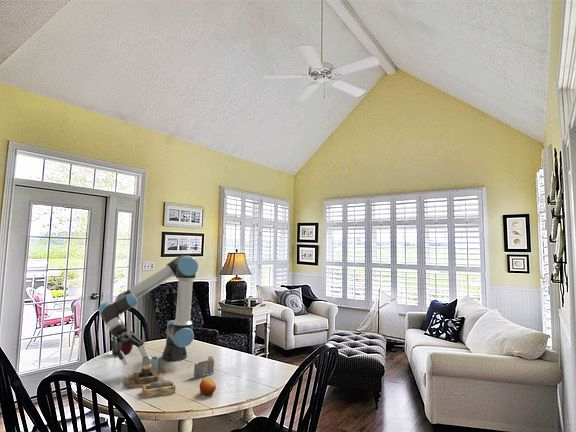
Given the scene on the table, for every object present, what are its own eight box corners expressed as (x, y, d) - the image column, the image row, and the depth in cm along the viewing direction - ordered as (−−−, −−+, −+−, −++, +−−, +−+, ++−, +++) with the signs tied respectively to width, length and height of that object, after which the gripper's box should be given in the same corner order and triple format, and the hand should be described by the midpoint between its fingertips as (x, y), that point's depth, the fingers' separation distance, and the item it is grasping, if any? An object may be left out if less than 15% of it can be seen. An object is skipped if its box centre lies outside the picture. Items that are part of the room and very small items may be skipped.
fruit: (196, 387, 175) (206, 373, 176) (210, 396, 175) (219, 381, 176) (193, 393, 167) (203, 379, 168) (207, 403, 167) (217, 388, 168)
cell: (149, 377, 186) (151, 354, 188) (150, 380, 182) (153, 356, 184) (139, 378, 184) (142, 355, 185) (140, 381, 180) (143, 357, 181)
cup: (155, 368, 203) (156, 356, 203) (157, 372, 197) (158, 359, 198) (144, 370, 200) (145, 357, 200) (146, 373, 194) (147, 360, 195)
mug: (117, 356, 221) (119, 340, 222) (113, 353, 227) (114, 337, 228) (134, 354, 228) (136, 338, 229) (130, 351, 234) (131, 335, 235)
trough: (172, 387, 177) (172, 377, 177) (175, 393, 170) (175, 381, 171) (142, 392, 170) (143, 380, 170) (144, 397, 164) (144, 386, 164)
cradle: (160, 374, 193) (161, 368, 194) (165, 383, 181) (166, 376, 182) (124, 379, 185) (125, 372, 185) (127, 389, 173) (127, 381, 173)
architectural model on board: (209, 372, 201) (211, 355, 202) (213, 374, 199) (214, 356, 200) (193, 377, 193) (194, 359, 194) (196, 379, 191) (197, 360, 192)
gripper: (130, 327, 205) (148, 358, 199) (93, 336, 182) (112, 371, 175) (138, 319, 204) (157, 349, 197) (102, 327, 181) (122, 362, 174)
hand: (136, 360), depth 186 cm, fingers open, 13 cm apart
